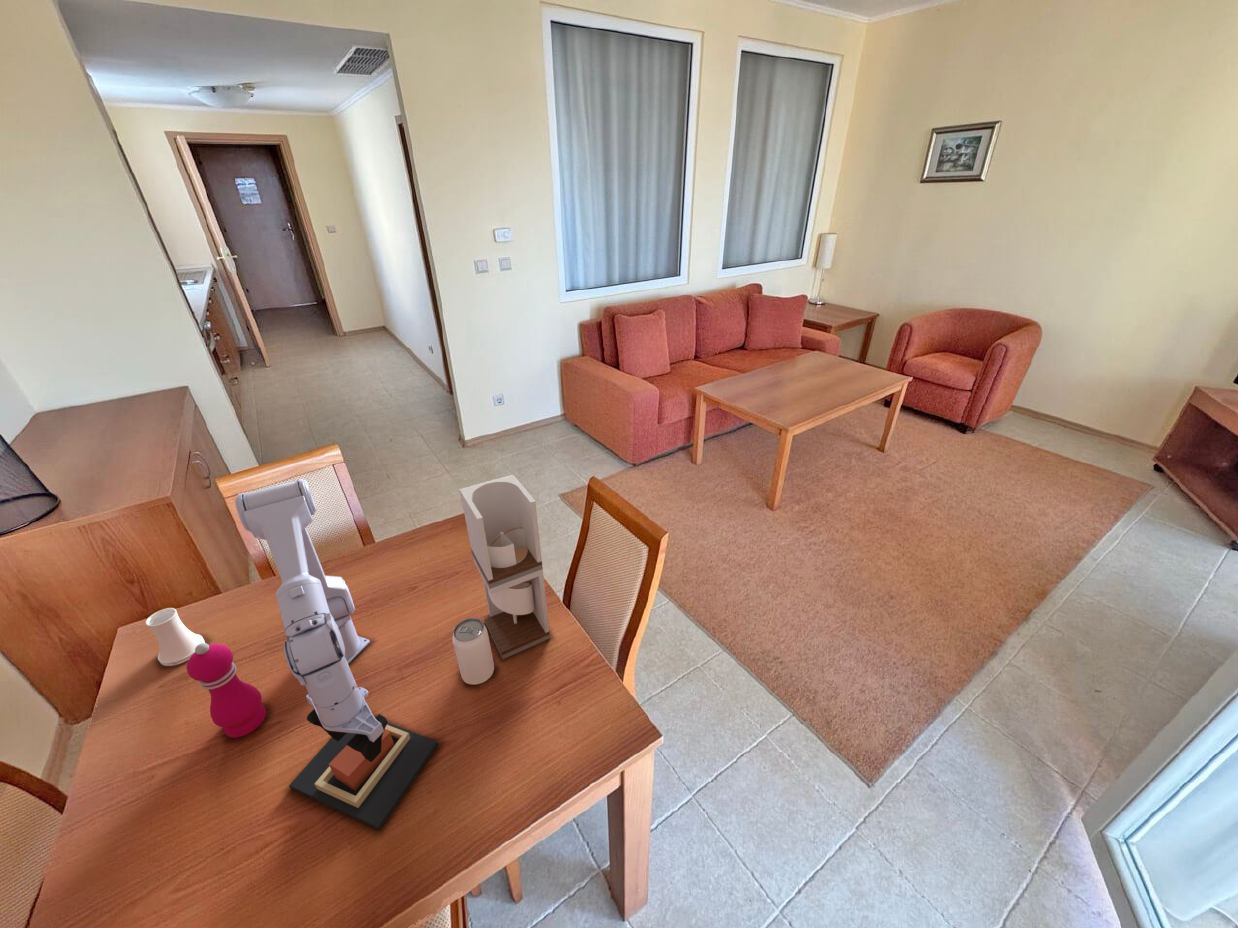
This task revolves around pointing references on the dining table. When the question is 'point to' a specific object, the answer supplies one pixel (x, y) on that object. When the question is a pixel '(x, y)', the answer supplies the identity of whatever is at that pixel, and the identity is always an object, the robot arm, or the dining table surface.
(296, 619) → the robot arm
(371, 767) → the reddish brown block
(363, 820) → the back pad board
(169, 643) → the vase
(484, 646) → the can
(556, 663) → the dining table surface
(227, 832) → the dining table surface
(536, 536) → the white tower stand
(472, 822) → the dining table surface
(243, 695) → the pepper mill
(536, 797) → the dining table surface
